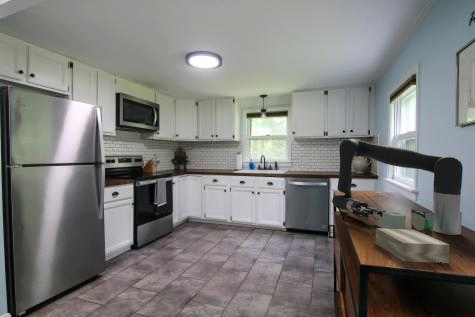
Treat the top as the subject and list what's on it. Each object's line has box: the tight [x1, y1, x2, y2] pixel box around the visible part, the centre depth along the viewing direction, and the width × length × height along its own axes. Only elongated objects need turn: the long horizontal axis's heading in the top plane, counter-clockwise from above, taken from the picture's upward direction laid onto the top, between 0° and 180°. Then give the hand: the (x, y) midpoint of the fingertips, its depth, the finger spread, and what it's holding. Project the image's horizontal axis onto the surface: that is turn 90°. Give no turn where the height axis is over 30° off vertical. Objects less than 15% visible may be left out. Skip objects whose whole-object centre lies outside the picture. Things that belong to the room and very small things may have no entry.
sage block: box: [381, 211, 407, 229], centre depth 98 cm, size 6×6×10 cm
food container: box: [410, 208, 437, 238], centre depth 102 cm, size 12×6×10 cm, turn 168°
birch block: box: [375, 227, 450, 264], centre depth 83 cm, size 14×15×6 cm
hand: (377, 215), depth 109 cm, fingers open, 8 cm apart
